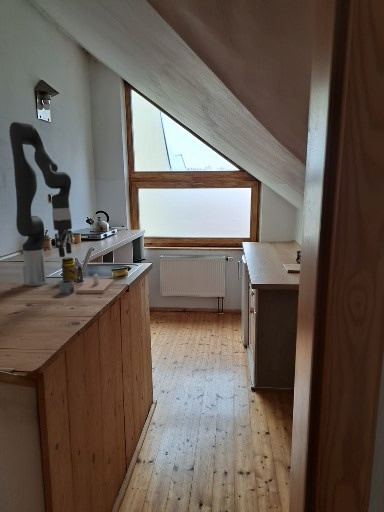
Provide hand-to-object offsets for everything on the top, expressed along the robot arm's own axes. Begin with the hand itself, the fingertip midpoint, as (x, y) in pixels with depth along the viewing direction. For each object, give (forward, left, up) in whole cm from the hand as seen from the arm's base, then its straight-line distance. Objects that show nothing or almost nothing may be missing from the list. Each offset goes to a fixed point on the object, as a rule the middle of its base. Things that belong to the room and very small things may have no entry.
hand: (65, 255), depth 160 cm
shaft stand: (+11, +7, -17) cm, 21 cm away
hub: (0, -1, -17) cm, 17 cm away
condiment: (-7, +18, -17) cm, 26 cm away
